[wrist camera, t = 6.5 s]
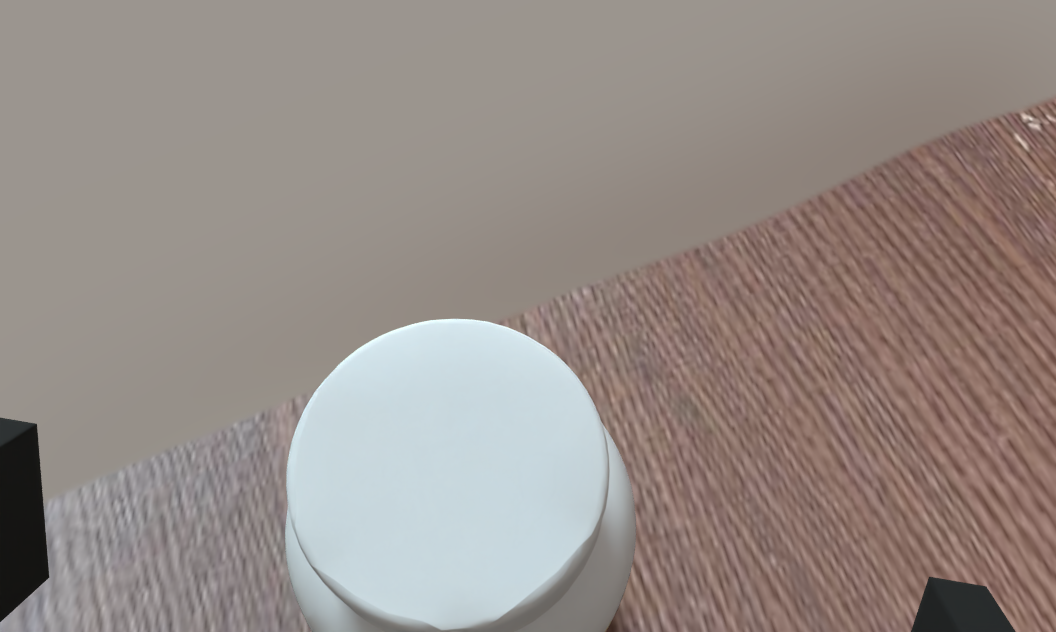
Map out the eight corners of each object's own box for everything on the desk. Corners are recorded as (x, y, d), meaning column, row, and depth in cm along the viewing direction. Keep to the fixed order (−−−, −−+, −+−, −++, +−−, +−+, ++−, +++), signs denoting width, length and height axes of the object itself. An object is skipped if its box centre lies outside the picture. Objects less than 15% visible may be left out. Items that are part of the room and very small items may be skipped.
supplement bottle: (637, 668, 18) (742, 613, 9) (396, 758, 17) (262, 790, 9) (555, 441, 20) (577, 225, 12) (338, 511, 20) (186, 337, 11)
